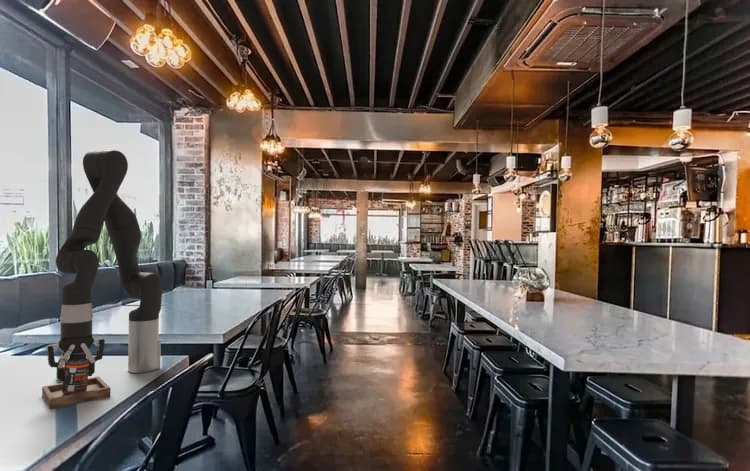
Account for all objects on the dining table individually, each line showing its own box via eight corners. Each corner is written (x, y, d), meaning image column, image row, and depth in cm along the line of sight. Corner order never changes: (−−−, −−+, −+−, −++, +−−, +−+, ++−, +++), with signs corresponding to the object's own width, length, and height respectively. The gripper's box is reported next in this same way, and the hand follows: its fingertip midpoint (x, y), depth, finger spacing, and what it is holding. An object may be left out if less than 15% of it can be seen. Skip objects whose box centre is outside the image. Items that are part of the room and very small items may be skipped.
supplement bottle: (74, 396, 123) (78, 355, 124) (56, 394, 124) (59, 353, 125) (91, 390, 129) (95, 351, 129) (74, 388, 130) (77, 349, 131)
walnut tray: (98, 384, 137) (98, 376, 137) (110, 396, 127) (110, 387, 127) (42, 395, 127) (42, 386, 127) (49, 409, 117) (50, 399, 117)
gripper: (102, 314, 135) (101, 370, 135) (43, 320, 125) (42, 380, 125) (108, 318, 129) (107, 376, 129) (47, 324, 119) (46, 387, 119)
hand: (75, 377), depth 127 cm, fingers closed on supplement bottle, 6 cm apart
